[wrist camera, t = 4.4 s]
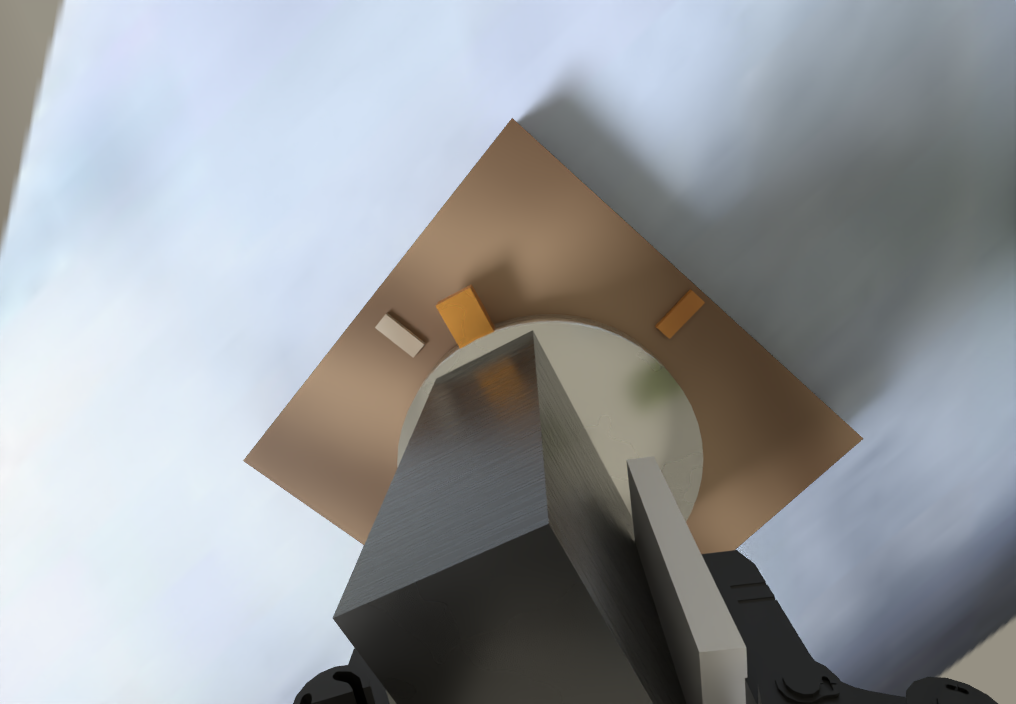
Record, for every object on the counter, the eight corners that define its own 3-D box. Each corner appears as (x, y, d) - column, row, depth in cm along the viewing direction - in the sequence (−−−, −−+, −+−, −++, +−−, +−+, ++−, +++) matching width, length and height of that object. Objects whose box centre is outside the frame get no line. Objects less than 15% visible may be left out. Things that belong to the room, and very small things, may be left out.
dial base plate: (568, 650, 25) (572, 694, 23) (267, 436, 22) (240, 463, 20) (832, 415, 21) (866, 441, 19) (513, 124, 18) (512, 117, 16)
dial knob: (489, 611, 21) (458, 1041, 11) (326, 359, 19) (59, 600, 8) (735, 508, 20) (986, 890, 9) (598, 215, 17) (730, 273, 6)
